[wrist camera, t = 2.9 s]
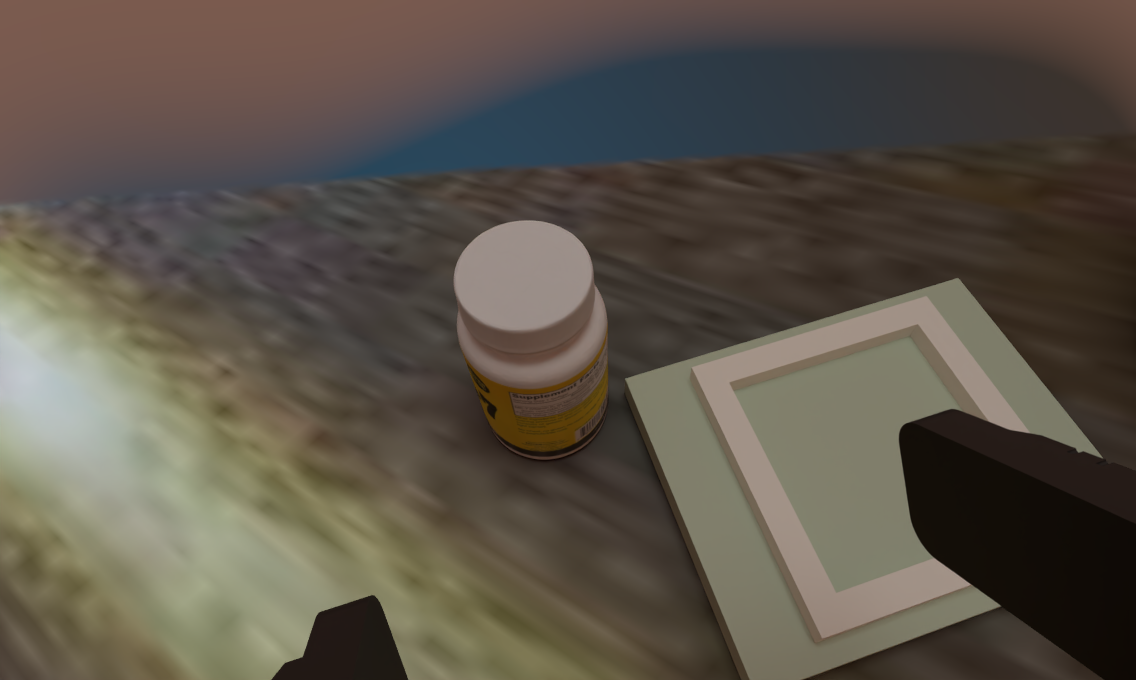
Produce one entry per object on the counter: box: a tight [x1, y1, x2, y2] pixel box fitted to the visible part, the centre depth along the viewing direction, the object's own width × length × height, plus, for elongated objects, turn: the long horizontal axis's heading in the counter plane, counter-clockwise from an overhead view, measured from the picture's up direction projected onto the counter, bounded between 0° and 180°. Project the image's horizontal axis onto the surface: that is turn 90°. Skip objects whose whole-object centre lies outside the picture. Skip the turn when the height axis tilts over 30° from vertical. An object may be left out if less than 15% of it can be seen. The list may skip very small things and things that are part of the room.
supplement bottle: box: [454, 221, 608, 460], centre depth 23 cm, size 5×5×8 cm
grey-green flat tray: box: [625, 278, 1103, 680], centre depth 23 cm, size 14×11×2 cm
